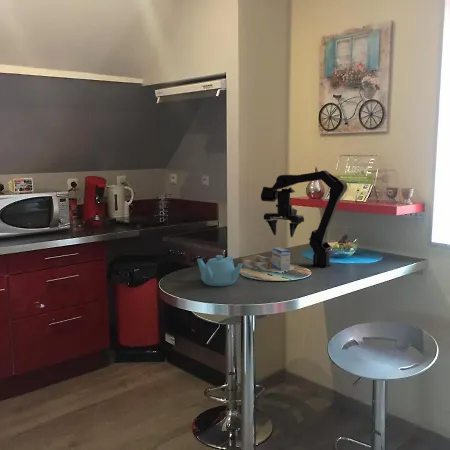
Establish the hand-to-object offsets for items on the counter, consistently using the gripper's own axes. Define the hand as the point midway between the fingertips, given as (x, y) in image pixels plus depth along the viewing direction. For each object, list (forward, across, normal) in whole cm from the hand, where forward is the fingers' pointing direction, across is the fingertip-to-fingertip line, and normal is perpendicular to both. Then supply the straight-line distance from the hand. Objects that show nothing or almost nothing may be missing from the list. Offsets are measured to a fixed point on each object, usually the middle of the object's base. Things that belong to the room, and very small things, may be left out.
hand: (283, 236), depth 236 cm
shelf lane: (+12, +2, +14) cm, 19 cm away
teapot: (+12, -2, +48) cm, 50 cm away
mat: (+12, -8, +14) cm, 20 cm away
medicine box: (+12, -8, +14) cm, 20 cm away
